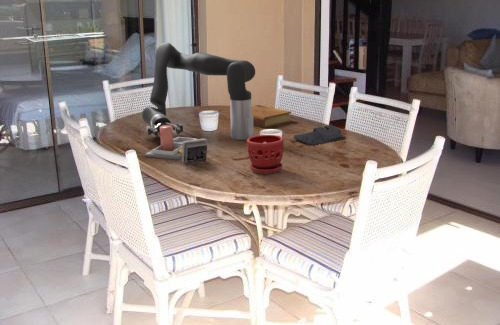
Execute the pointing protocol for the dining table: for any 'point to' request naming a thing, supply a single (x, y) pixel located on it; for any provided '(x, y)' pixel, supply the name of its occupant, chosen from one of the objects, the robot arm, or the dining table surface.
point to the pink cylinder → (166, 138)
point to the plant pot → (265, 153)
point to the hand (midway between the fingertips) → (167, 132)
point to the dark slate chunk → (320, 135)
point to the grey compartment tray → (170, 154)
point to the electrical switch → (194, 151)
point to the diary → (269, 116)
